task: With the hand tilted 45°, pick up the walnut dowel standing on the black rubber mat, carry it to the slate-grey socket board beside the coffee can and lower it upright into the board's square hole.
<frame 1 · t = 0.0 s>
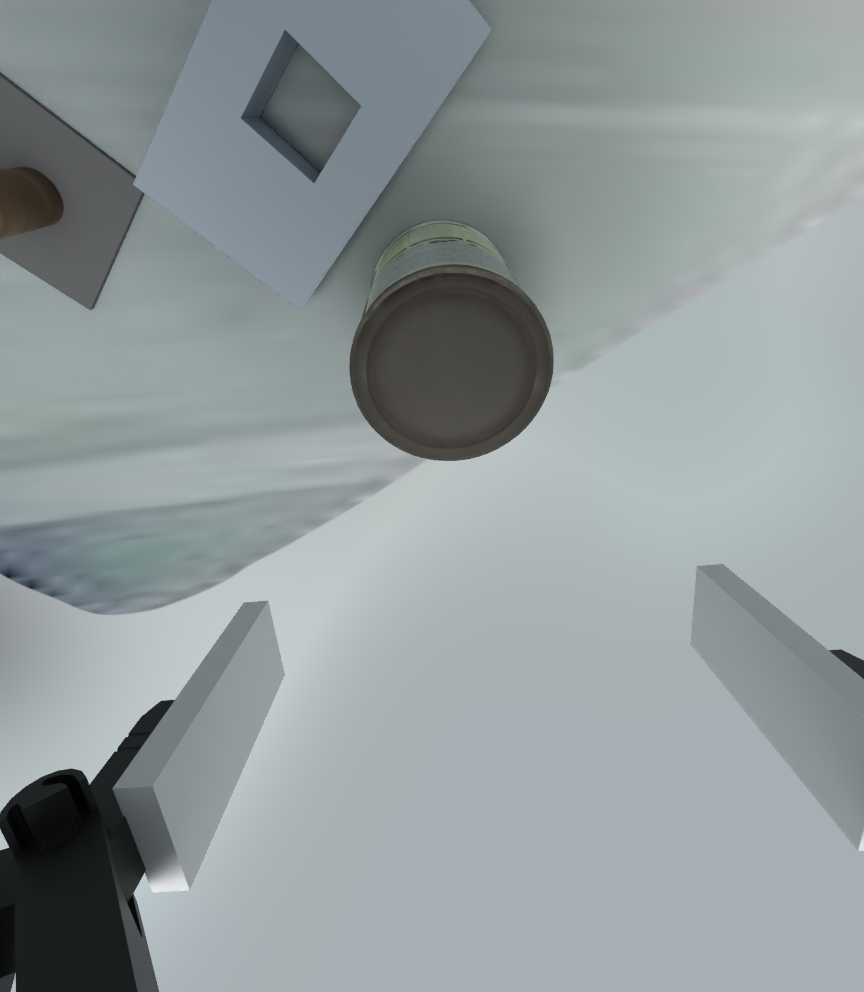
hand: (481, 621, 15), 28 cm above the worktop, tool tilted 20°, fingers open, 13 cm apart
dowel: (35, 197, 32), resting on mat
socket board: (313, 112, 30), on the worktop
coffee can: (440, 296, 37), on the worktop
mat: (39, 196, 32), on the worktop
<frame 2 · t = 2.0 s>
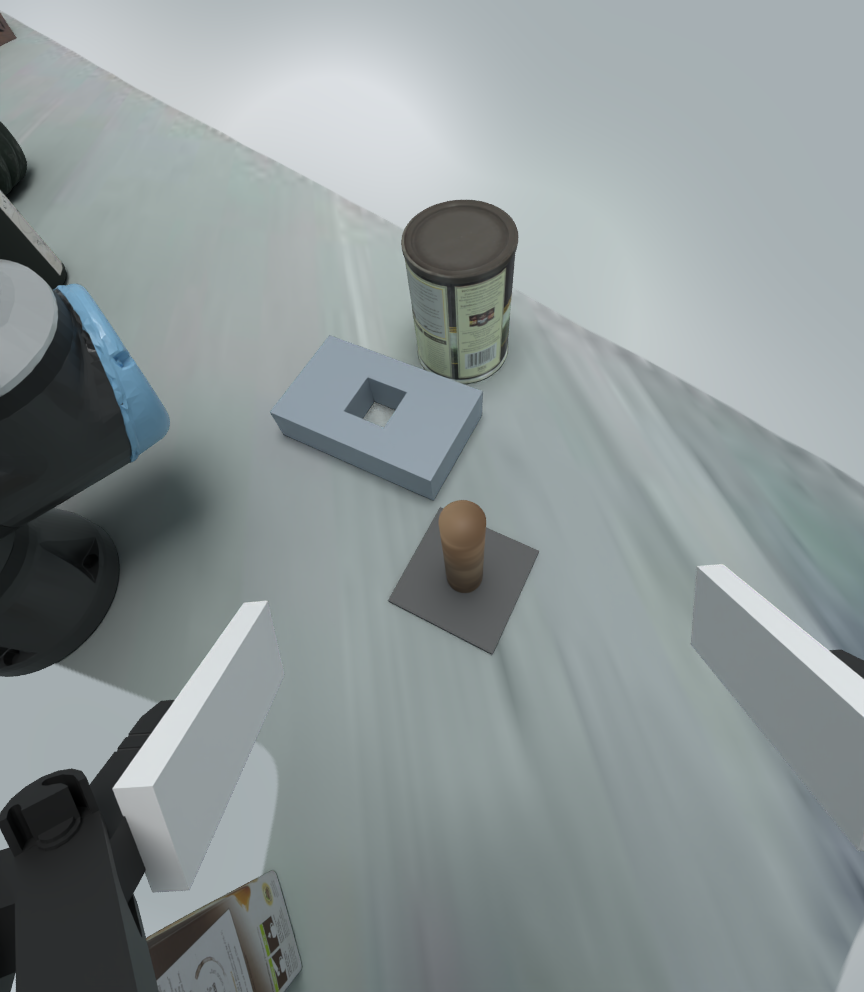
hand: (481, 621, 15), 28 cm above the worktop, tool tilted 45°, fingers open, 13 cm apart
coffee box: (228, 949, 34), on the worktop
dowel: (464, 575, 44), resting on mat
socket board: (382, 424, 53), on the worktop
coffee can: (461, 349, 57), on the worktop
wine bottle: (41, 286, 67), on the worktop
mat: (464, 576, 45), on the worktop
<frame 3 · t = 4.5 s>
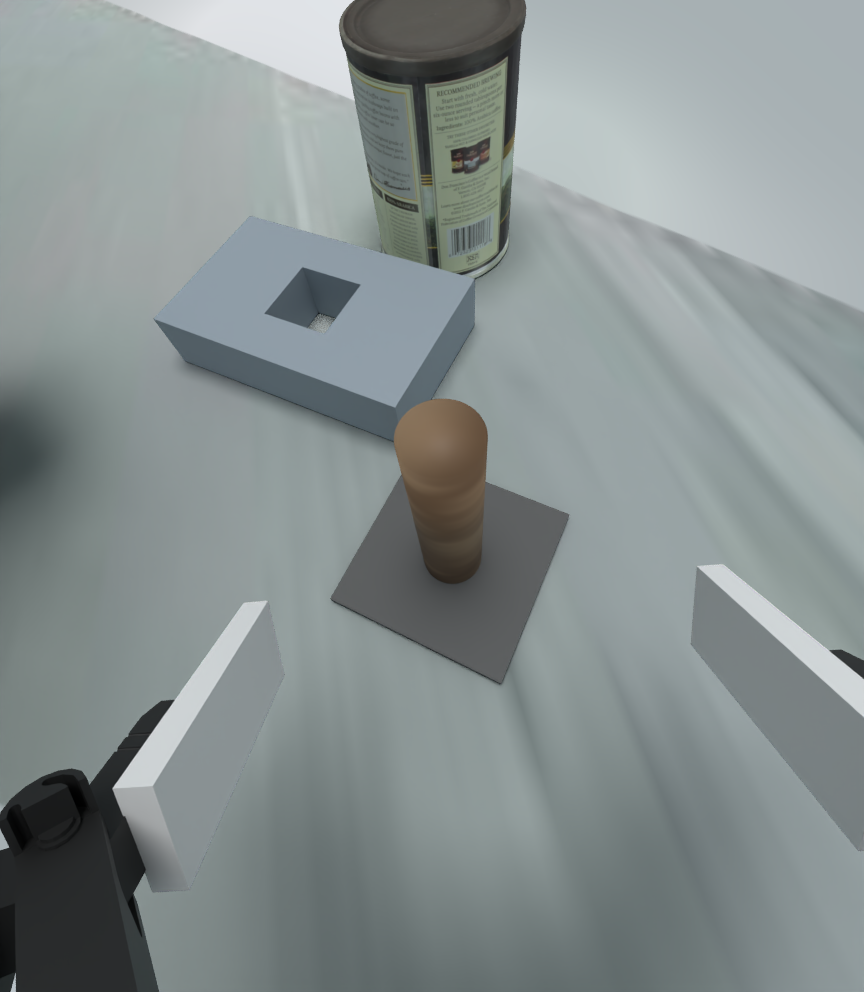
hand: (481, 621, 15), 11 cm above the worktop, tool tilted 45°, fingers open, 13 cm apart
dowel: (452, 555, 28), resting on mat
socket board: (328, 343, 36), on the worktop
coffee can: (443, 243, 40), on the worktop
mat: (452, 558, 28), on the worktop
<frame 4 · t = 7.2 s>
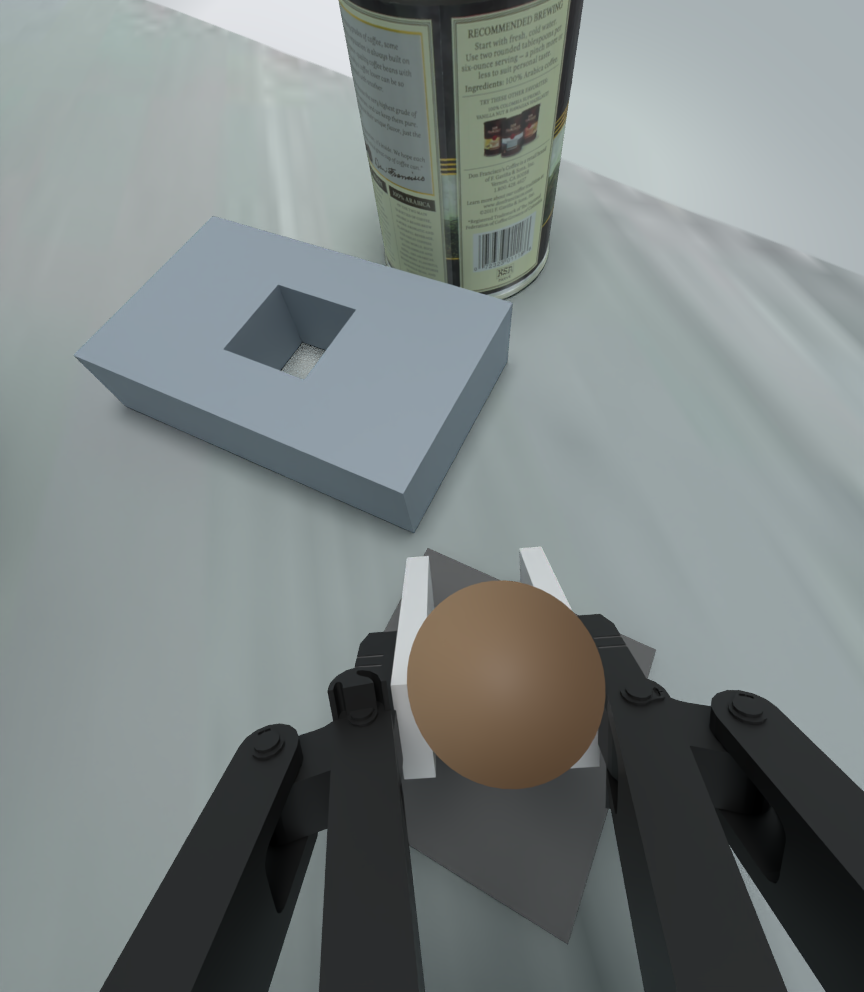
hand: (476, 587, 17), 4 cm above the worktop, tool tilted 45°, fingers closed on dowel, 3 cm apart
dowel: (486, 713, 19), resting on mat, touching gripper
socket board: (314, 383, 27), on the worktop
coffee can: (464, 252, 31), on the worktop
mat: (485, 713, 19), on the worktop
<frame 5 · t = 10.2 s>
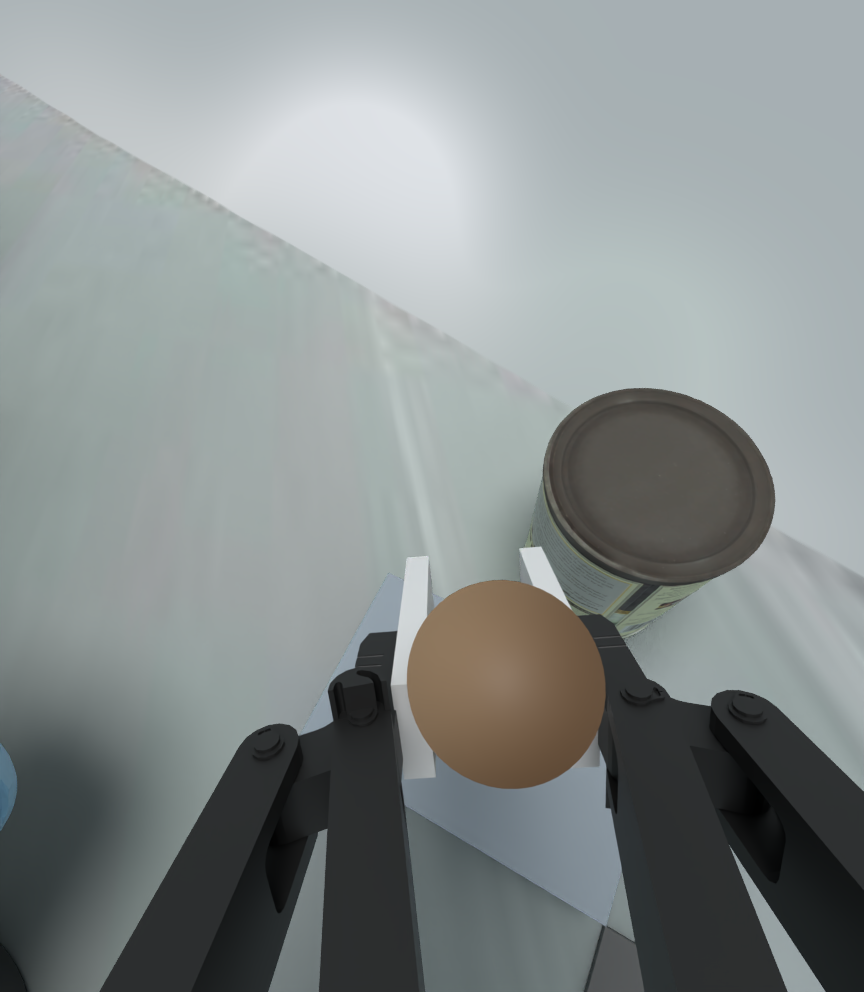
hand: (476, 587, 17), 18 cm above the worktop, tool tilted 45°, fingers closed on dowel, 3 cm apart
dowel: (486, 713, 19), point 14 cm above the worktop, touching gripper
socket board: (479, 724, 32), on the worktop
coffee can: (591, 570, 36), on the worktop
when the fingers open (6 cm above the worktop, at t = 13.2 s): dowel drops 2 cm, resting in socket board.
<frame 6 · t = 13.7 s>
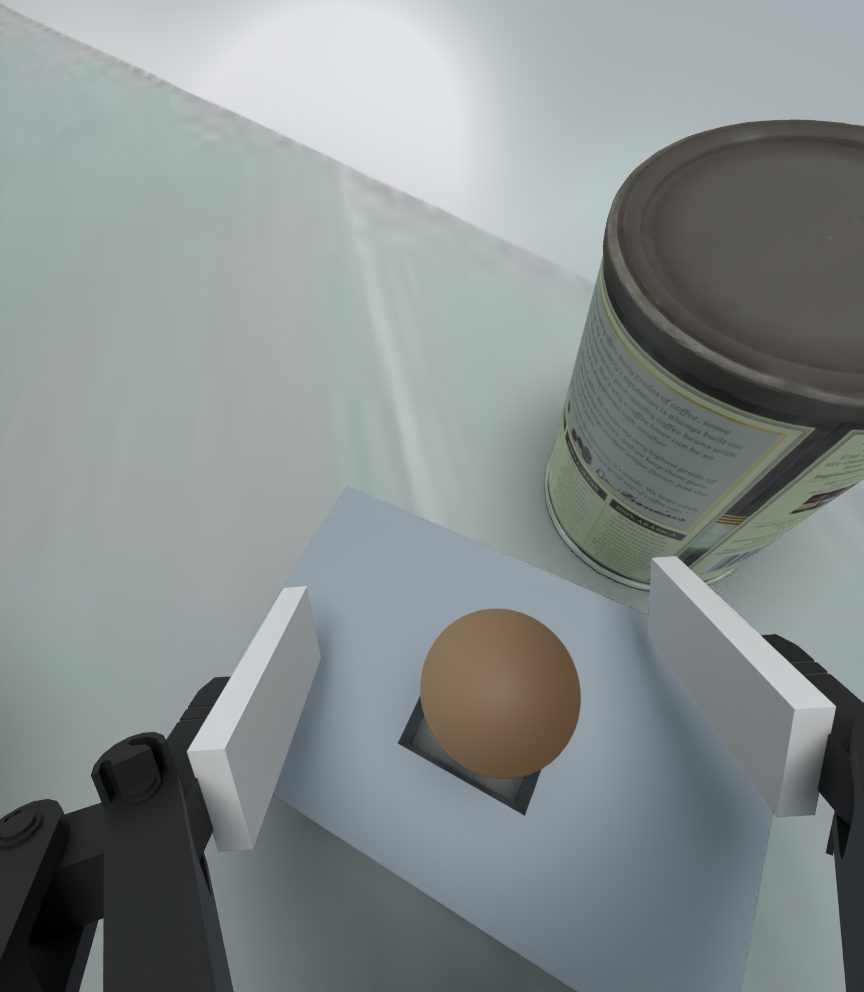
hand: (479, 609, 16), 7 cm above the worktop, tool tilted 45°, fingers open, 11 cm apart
dowel: (486, 716, 21), resting in socket board
socket board: (484, 715, 21), on the worktop
coffee can: (645, 494, 25), on the worktop
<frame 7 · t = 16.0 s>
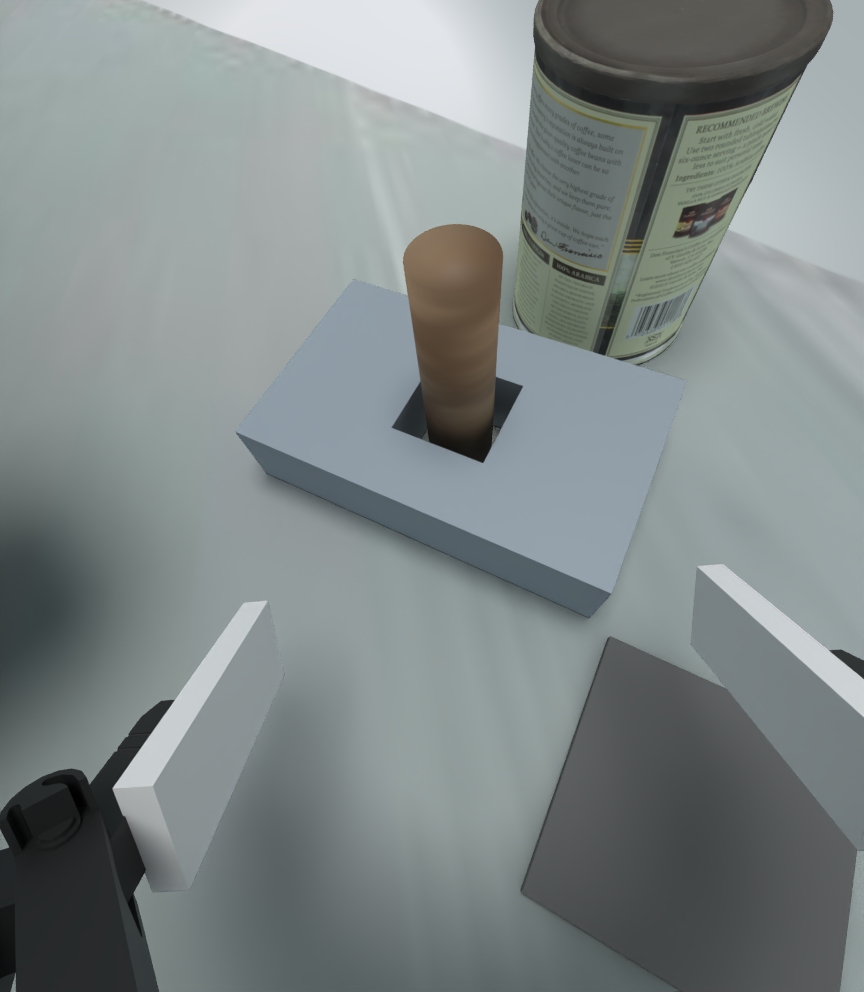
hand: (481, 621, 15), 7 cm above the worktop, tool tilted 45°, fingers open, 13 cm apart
dowel: (461, 452, 27), resting in socket board
socket board: (460, 451, 27), on the worktop
coffee can: (593, 309, 31), on the worktop
mat: (696, 819, 19), on the worktop
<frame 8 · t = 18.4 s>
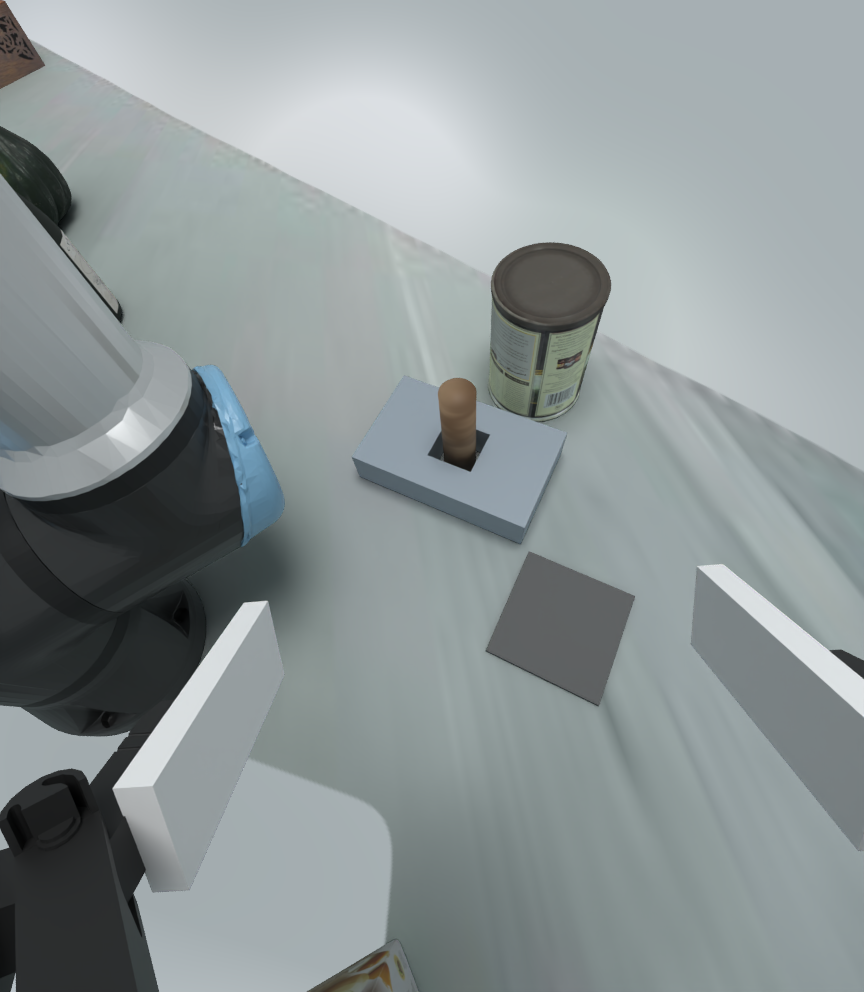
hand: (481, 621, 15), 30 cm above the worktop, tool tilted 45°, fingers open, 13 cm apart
dowel: (460, 465, 52), resting in socket board
socket board: (459, 465, 52), on the worktop
coffee can: (532, 385, 56), on the worktop
wine bottle: (96, 324, 66), on the worktop
squash: (38, 226, 77), on the worktop
mat: (560, 623, 44), on the worktop
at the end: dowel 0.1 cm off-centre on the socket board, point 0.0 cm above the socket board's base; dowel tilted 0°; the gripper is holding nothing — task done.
